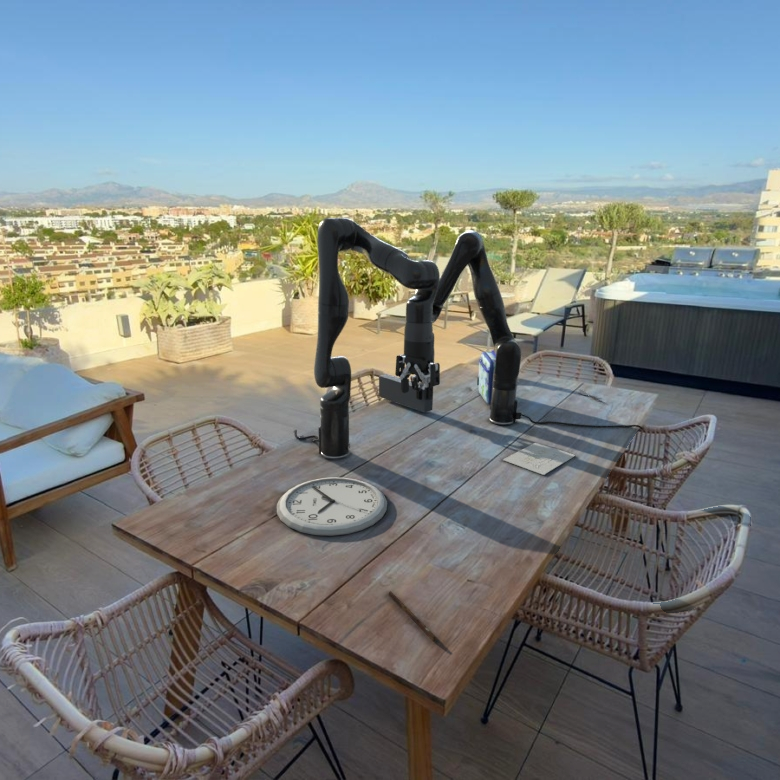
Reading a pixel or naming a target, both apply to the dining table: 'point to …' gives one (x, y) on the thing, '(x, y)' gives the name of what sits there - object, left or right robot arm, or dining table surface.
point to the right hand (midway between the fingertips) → (423, 397)
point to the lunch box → (486, 375)
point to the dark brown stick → (412, 616)
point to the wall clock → (331, 506)
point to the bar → (393, 392)
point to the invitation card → (539, 458)
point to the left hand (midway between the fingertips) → (416, 395)
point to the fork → (589, 395)
